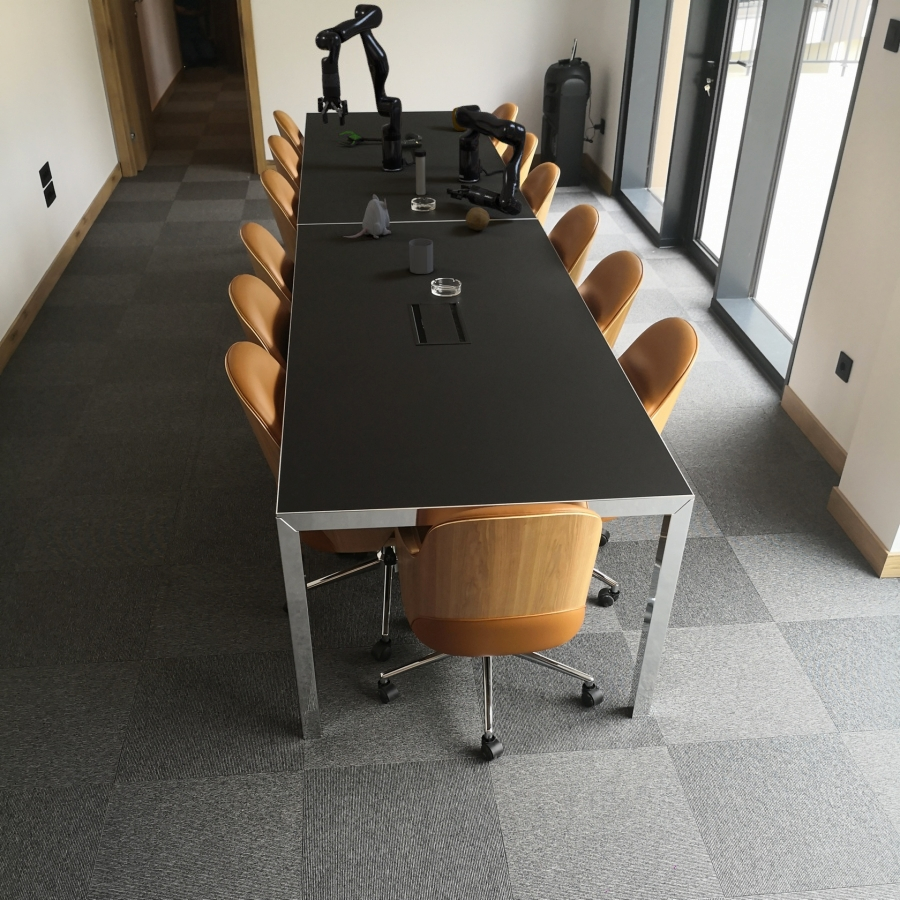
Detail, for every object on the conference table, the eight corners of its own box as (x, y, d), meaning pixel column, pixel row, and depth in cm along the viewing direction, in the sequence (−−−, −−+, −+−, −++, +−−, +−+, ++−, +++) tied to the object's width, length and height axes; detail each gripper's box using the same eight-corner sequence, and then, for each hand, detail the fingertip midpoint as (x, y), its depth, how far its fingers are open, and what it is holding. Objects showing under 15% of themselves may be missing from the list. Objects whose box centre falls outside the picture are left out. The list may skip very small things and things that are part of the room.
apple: (471, 132, 486) (471, 108, 479) (451, 132, 486) (451, 108, 479) (470, 128, 495) (471, 104, 488) (452, 128, 495) (452, 104, 488)
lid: (421, 157, 375) (421, 152, 374) (412, 155, 378) (412, 151, 377) (428, 155, 379) (428, 150, 378) (419, 153, 381) (419, 148, 380)
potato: (487, 223, 352) (488, 203, 348) (491, 234, 340) (491, 214, 336) (463, 223, 351) (463, 204, 347) (466, 235, 340) (466, 214, 335)
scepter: (394, 128, 464) (338, 126, 462) (394, 143, 457) (337, 141, 455) (394, 137, 469) (338, 135, 467) (394, 152, 462) (337, 150, 460)
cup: (409, 265, 311) (408, 238, 306) (432, 265, 312) (431, 238, 307) (410, 274, 304) (409, 246, 299) (433, 273, 305) (433, 246, 299)
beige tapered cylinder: (421, 195, 385) (420, 153, 375) (414, 193, 387) (413, 152, 377) (427, 193, 388) (427, 151, 378) (420, 191, 390) (419, 150, 380)
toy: (396, 233, 341) (395, 195, 333) (351, 248, 326) (349, 209, 318) (381, 228, 346) (379, 190, 338) (336, 243, 332) (333, 204, 324)
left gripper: (350, 84, 364) (352, 124, 372) (322, 81, 370) (325, 121, 378) (339, 87, 358) (342, 128, 367) (312, 84, 364) (315, 124, 373)
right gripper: (493, 184, 364) (466, 176, 373) (469, 191, 355) (442, 183, 365) (493, 202, 368) (465, 194, 377) (469, 209, 359) (442, 201, 369)
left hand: (333, 124), depth 373 cm, fingers open, 8 cm apart
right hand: (454, 188), depth 371 cm, fingers open, 8 cm apart
